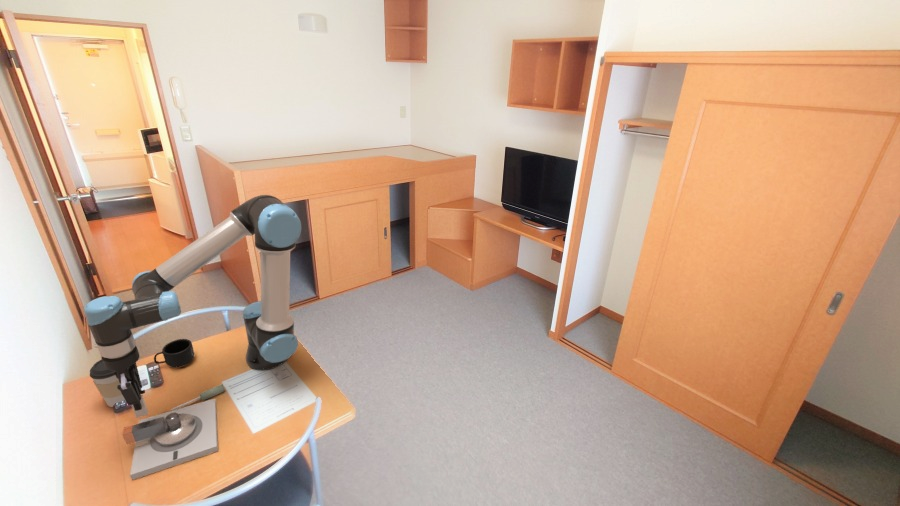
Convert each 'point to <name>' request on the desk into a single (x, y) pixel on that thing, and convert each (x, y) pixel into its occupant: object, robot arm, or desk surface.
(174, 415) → the dial
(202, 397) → the screwdriver
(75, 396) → the desk surface
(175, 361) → the mug
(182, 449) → the plate
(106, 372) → the coffee cup
